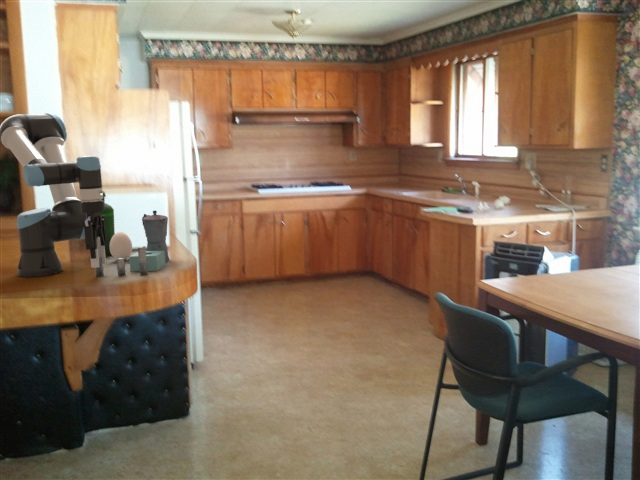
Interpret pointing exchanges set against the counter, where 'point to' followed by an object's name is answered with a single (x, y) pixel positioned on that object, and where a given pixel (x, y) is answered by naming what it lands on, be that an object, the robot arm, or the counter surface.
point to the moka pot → (156, 232)
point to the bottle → (108, 224)
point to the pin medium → (142, 260)
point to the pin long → (99, 269)
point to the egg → (120, 246)
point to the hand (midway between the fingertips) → (98, 265)
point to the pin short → (121, 267)
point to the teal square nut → (148, 261)
